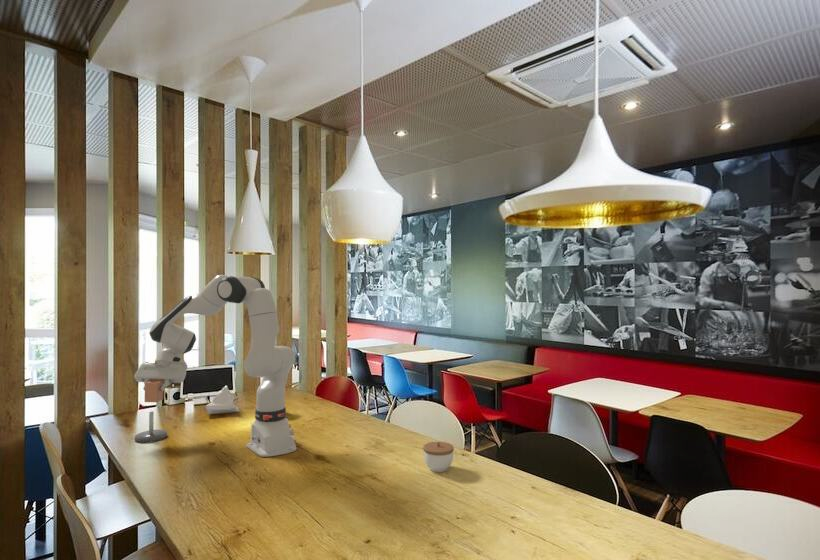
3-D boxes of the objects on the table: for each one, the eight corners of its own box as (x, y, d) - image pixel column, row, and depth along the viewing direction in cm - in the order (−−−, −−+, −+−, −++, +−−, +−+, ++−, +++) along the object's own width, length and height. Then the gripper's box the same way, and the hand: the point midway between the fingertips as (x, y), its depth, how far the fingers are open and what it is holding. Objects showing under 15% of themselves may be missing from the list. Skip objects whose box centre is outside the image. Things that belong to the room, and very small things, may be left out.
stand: (167, 439, 190) (168, 413, 190) (134, 444, 184) (134, 417, 184) (166, 431, 200) (166, 406, 200) (134, 436, 194) (135, 410, 194)
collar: (163, 399, 194) (163, 380, 194) (156, 402, 188) (157, 383, 188) (151, 398, 193) (151, 380, 193) (144, 402, 188) (145, 382, 188)
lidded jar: (428, 476, 154) (428, 448, 154) (419, 464, 164) (419, 438, 164) (458, 473, 157) (458, 445, 157) (447, 461, 167) (447, 435, 167)
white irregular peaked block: (207, 414, 232) (210, 385, 236) (238, 414, 237) (241, 386, 241) (205, 414, 221) (208, 384, 225) (237, 414, 225) (240, 385, 229)
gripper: (139, 357, 198) (125, 385, 188) (186, 358, 198) (174, 386, 188) (145, 366, 202) (131, 393, 193) (191, 367, 202) (179, 394, 193)
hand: (153, 390), depth 190 cm, fingers closed on collar, 5 cm apart
